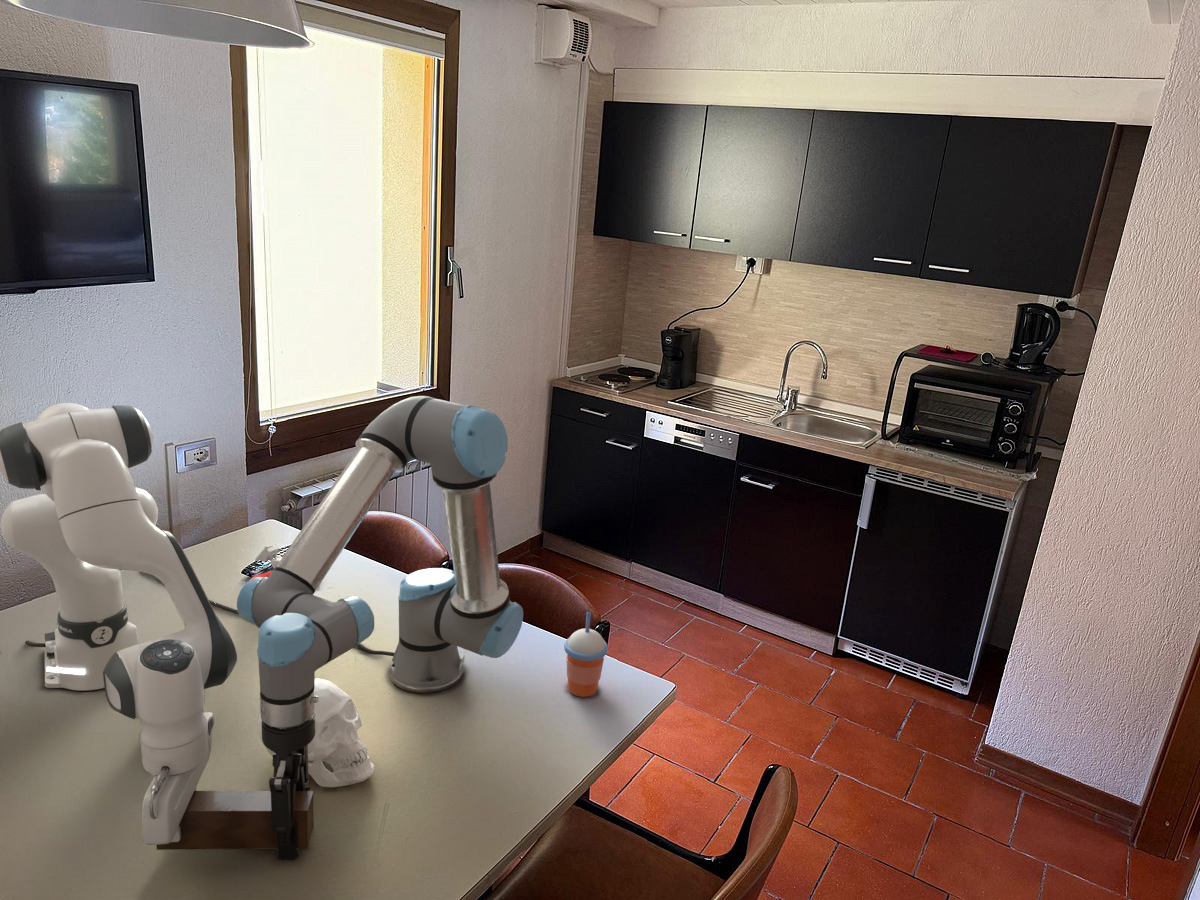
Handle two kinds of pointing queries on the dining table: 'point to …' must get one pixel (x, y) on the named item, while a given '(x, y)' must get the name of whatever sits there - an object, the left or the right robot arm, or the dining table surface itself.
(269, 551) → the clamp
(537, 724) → the dining table surface
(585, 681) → the cup with straw
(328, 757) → the skull
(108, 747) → the dining table surface
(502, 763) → the dining table surface
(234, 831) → the walnut beam
